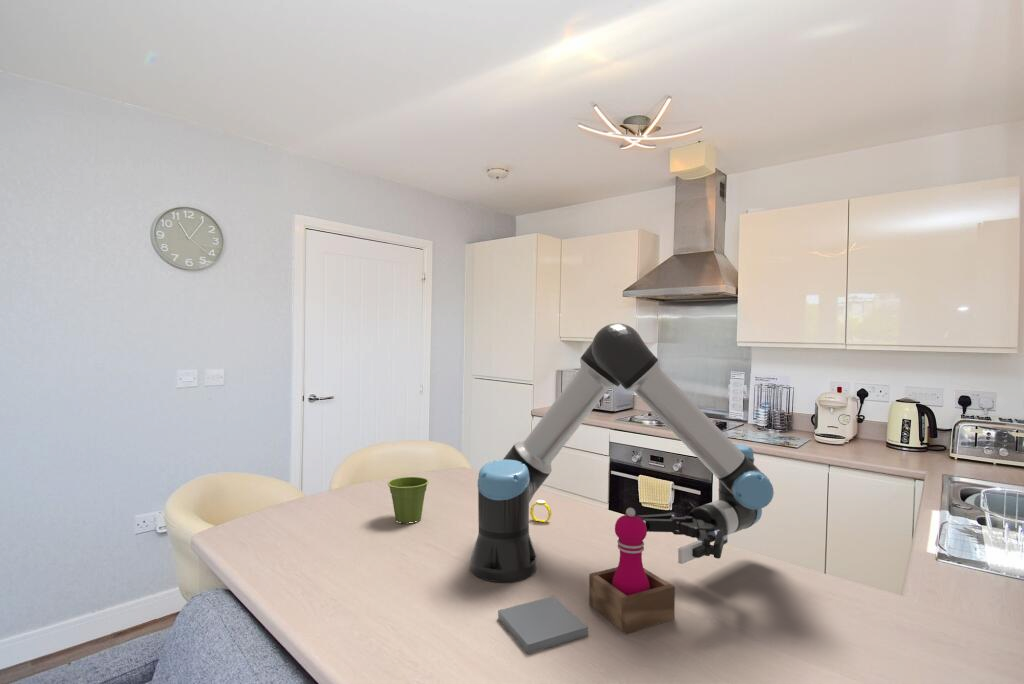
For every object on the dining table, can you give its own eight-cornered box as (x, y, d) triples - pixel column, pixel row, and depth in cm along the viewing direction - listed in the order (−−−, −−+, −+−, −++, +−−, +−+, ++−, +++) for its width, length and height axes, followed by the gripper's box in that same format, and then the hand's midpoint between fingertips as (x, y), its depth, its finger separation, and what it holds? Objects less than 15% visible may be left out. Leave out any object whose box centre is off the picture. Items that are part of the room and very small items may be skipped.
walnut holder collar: (589, 604, 101) (589, 573, 101) (634, 591, 106) (634, 562, 106) (626, 634, 90) (625, 600, 90) (674, 618, 95) (674, 586, 95)
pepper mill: (628, 625, 93) (628, 516, 93) (604, 607, 100) (603, 505, 99) (658, 615, 97) (658, 510, 96) (632, 598, 103) (632, 499, 103)
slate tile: (498, 618, 96) (498, 610, 96) (553, 603, 101) (553, 596, 101) (527, 653, 85) (527, 644, 85) (587, 635, 90) (587, 626, 90)
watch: (551, 522, 147) (553, 502, 146) (548, 525, 144) (549, 504, 144) (532, 517, 149) (533, 497, 149) (528, 521, 147) (530, 500, 146)
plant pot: (437, 517, 150) (437, 479, 150) (409, 530, 140) (408, 489, 140) (408, 510, 156) (407, 474, 156) (378, 522, 146) (378, 483, 146)
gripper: (767, 557, 103) (707, 588, 90) (665, 522, 123) (604, 543, 111) (767, 520, 103) (707, 546, 90) (665, 491, 123) (603, 508, 111)
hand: (650, 544), depth 100 cm, fingers open, 13 cm apart
